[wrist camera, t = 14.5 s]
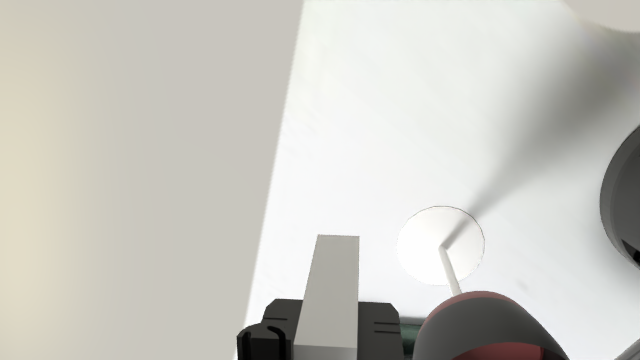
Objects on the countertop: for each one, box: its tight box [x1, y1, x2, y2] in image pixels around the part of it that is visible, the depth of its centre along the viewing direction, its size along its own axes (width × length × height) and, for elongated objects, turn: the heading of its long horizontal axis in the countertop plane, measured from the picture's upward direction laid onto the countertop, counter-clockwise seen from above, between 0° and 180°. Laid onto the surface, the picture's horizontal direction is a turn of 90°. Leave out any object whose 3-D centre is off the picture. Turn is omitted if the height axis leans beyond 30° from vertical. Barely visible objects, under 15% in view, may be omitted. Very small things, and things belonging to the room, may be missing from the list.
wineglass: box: [397, 207, 569, 360], centre depth 34 cm, size 8×9×20 cm
